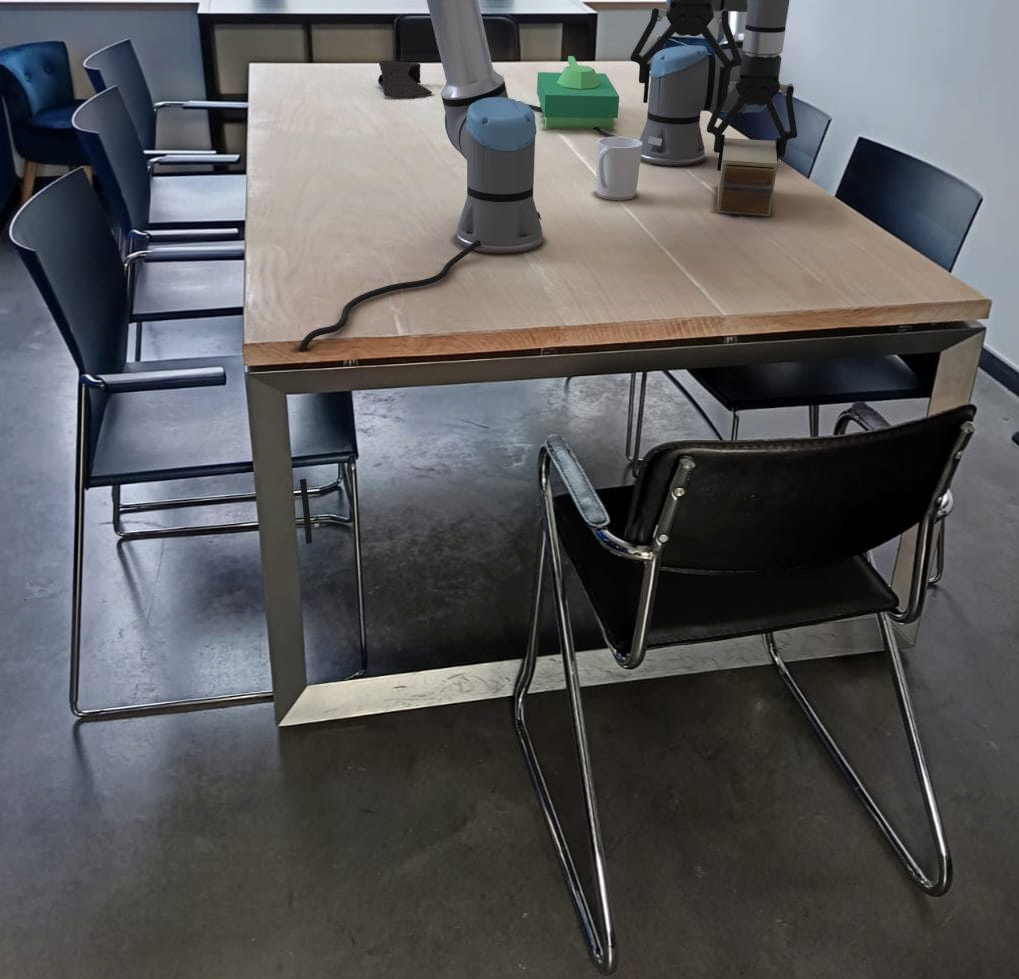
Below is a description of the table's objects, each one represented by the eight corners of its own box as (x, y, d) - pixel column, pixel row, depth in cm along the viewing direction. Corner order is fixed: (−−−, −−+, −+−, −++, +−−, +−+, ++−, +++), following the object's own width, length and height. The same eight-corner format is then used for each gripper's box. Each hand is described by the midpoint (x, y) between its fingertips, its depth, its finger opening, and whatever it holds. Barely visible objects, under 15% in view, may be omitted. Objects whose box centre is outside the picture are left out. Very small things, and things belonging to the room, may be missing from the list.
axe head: (443, 87, 294) (392, 77, 287) (436, 115, 299) (385, 106, 292) (421, 62, 307) (371, 52, 300) (414, 89, 311) (365, 80, 304)
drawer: (768, 222, 205) (774, 178, 201) (719, 218, 206) (725, 174, 202) (765, 190, 223) (771, 148, 218) (721, 187, 224) (726, 146, 220)
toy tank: (603, 52, 288) (620, 79, 258) (599, 101, 294) (616, 133, 265) (536, 51, 287) (546, 78, 257) (534, 99, 294) (543, 131, 264)
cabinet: (769, 216, 211) (777, 163, 206) (716, 212, 213) (723, 159, 207) (768, 191, 226) (775, 141, 220) (718, 187, 227) (724, 137, 222)
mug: (610, 185, 226) (613, 134, 221) (646, 193, 222) (651, 142, 216) (579, 196, 219) (581, 144, 214) (615, 205, 214) (619, 152, 209)
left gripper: (763, -21, 196) (748, 101, 207) (624, -26, 199) (616, 95, 210) (765, -16, 190) (749, 110, 201) (621, -21, 193) (614, 104, 204)
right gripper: (821, 53, 210) (803, 169, 221) (702, 47, 213) (690, 162, 224) (824, 60, 203) (805, 179, 215) (701, 54, 206) (688, 172, 218)
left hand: (681, 103), depth 205 cm, fingers open, 13 cm apart
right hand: (746, 170), depth 220 cm, fingers closed on cabinet, 10 cm apart
